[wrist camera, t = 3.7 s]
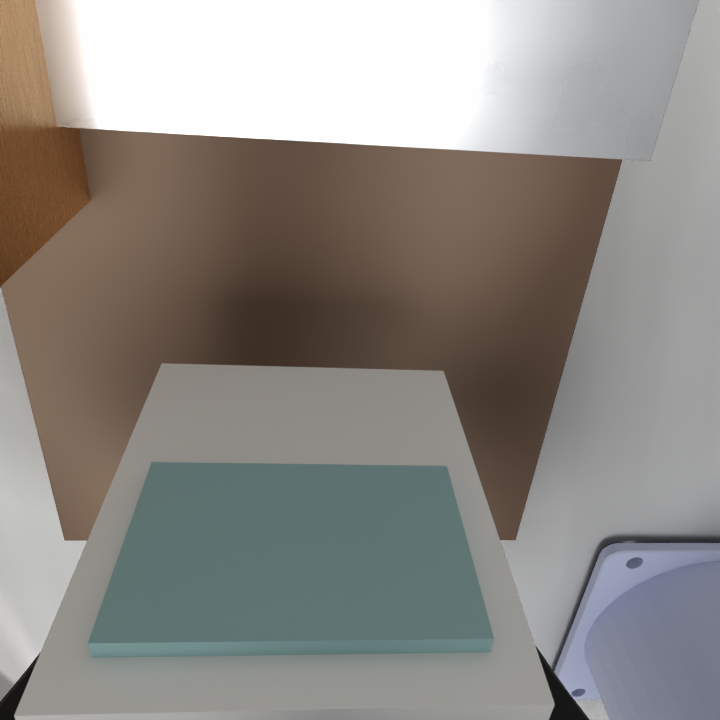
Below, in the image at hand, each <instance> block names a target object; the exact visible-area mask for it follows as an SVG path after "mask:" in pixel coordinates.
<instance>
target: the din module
mask: <svg viewBox="0 0 720 720" xmlns="http://www.w3.org/2000/svg"><path fill="white" fill-rule="evenodd" d="M554 706H555V703H554V700H553V697H552V694H551V691H550V688H549V685H548V682H547V679H546V676H545V673H544V670H543V667H542V664H541V661H540V658H539V655H538V652H537V649H536V646H535V643H534V640H533V637H532V634H531V631H530V628H529V625H528V622H527V619H526V616H525V613H524V610H523V607H522V604H521V601H520V598H519V595H518V592H517V589H516V586H515V583H514V580H513V577H512V574H511V571H510V568H509V565H508V562H507V559H506V556H505V553H504V550H503V547H502V544H501V541H500V538H499V535H498V533H497V530H496V527H495V524H494V521H493V518H492V515H491V512H490V509H489V506H488V503H487V500H486V497H485V494H484V491H483V488H482V485H481V482H480V479H479V476H478V473H477V470H476V467H475V464H474V461H473V458H472V455H471V452H470V449H469V446H468V443H467V440H466V437H465V434H464V431H463V428H462V425H461V422H460V419H459V416H458V413H457V410H456V407H455V404H454V401H453V398H452V395H451V392H450V389H449V386H448V383H447V380H446V377H445V374H444V371H432V370H395V369H357V368H320V367H282V366H245V365H207V364H170V363H162V364H161V366H160V368H159V371H158V373H157V376H156V378H155V380H154V383H153V385H152V388H151V390H150V392H149V395H148V397H147V399H146V402H145V404H144V407H143V409H142V411H141V414H140V416H139V419H138V421H137V423H136V426H135V428H134V431H133V433H132V435H131V438H130V440H129V442H128V445H127V447H126V450H125V452H124V454H123V457H122V459H121V462H120V464H119V466H118V469H117V471H116V473H115V476H114V478H113V481H112V483H111V485H110V488H109V490H108V493H107V495H106V497H105V500H104V502H103V505H102V507H101V509H100V512H99V514H98V516H97V519H96V521H95V524H94V526H93V528H92V531H91V533H90V536H89V538H88V540H87V543H86V545H85V547H84V550H83V552H82V555H81V557H80V559H79V562H78V564H77V567H76V569H75V571H74V574H73V576H72V579H71V581H70V583H69V586H68V588H67V590H66V593H65V595H64V598H63V600H62V602H61V605H60V607H59V610H58V612H57V614H56V617H55V619H54V621H53V624H52V626H51V629H50V631H49V633H48V636H47V638H46V641H45V643H44V645H43V648H42V650H41V653H40V655H39V657H38V660H37V662H36V664H35V667H34V669H33V672H32V674H31V676H30V679H29V681H28V684H27V686H26V688H25V691H24V693H23V695H22V698H21V700H20V703H19V705H18V707H17V710H16V712H15V715H14V717H15V720H549V718H550V716H551V713H552V711H553V708H554Z"/></svg>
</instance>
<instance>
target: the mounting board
mask: <svg viewBox="0 0 720 720" xmlns="http://www.w3.org/2000/svg"><path fill="white" fill-rule="evenodd" d="M79 130H80V136H81V143H82V149H83V155H84V162H85V168H86V174H87V181H88V187H89V193H90V200H91V201H90V202H89V203H88V204H87V205H86V206H84V207H83V208H82V209H81V210H80V211H79V212H78V213H77V214H76V215H75V216H74V217H73V218H72V219H71V220H70V221H69V222H68V223H67V224H66V225H65V226H64V227H63V228H61V229H60V230H59V231H58V232H57V233H56V234H55V235H54V236H53V237H52V238H51V239H50V240H49V241H48V242H47V243H46V244H45V245H44V246H43V247H42V248H41V249H39V250H38V251H37V252H36V253H35V254H34V255H33V256H32V257H31V258H30V259H29V260H28V261H27V262H26V263H25V264H24V265H23V266H22V267H21V268H20V269H19V270H18V271H16V272H15V273H14V274H13V275H12V276H11V277H10V278H9V279H8V280H7V281H6V282H5V283H4V284H3V285H2V286H1V289H2V293H3V297H4V300H5V304H6V308H7V312H8V316H9V320H10V324H11V328H12V332H13V336H14V340H15V344H16V348H17V352H18V356H19V360H20V364H21V368H22V372H23V376H24V380H25V384H26V388H27V392H28V396H29V400H30V404H31V408H32V412H33V416H34V420H35V424H36V428H37V432H38V436H39V440H40V444H41V448H42V452H43V456H44V460H45V464H46V468H47V472H48V476H49V480H50V484H51V488H52V492H53V496H54V500H55V504H56V508H57V512H58V516H59V520H60V524H61V528H62V532H63V536H64V540H88V538H89V536H90V533H91V531H92V528H93V526H94V524H95V521H96V519H97V516H98V514H99V512H100V509H101V507H102V505H103V502H104V500H105V497H106V495H107V493H108V490H109V488H110V485H111V483H112V481H113V478H114V476H115V473H116V471H117V469H118V466H119V464H120V462H121V459H122V457H123V454H124V452H125V450H126V447H127V445H128V442H129V440H130V438H131V435H132V433H133V431H134V428H135V426H136V423H137V421H138V419H139V416H140V414H141V411H142V409H143V407H144V404H145V402H146V399H147V397H148V395H149V392H150V390H151V388H152V385H153V383H154V380H155V378H156V376H157V373H158V371H159V368H160V366H161V364H162V363H170V364H207V365H245V366H282V367H320V368H357V369H395V370H432V371H444V374H445V377H446V380H447V383H448V386H449V389H450V392H451V395H452V398H453V401H454V404H455V407H456V410H457V413H458V416H459V419H460V422H461V425H462V428H463V431H464V434H465V437H466V440H467V443H468V446H469V449H470V452H471V455H472V458H473V461H474V464H475V467H476V470H477V473H478V476H479V479H480V482H481V485H482V488H483V491H484V494H485V497H486V500H487V503H488V506H489V509H490V512H491V515H492V518H493V521H494V524H495V527H496V530H497V533H498V535H499V538H500V540H516V536H517V533H518V529H519V525H520V522H521V518H522V515H523V511H524V508H525V504H526V500H527V497H528V493H529V490H530V486H531V483H532V479H533V476H534V472H535V468H536V465H537V461H538V458H539V454H540V451H541V447H542V444H543V440H544V436H545V433H546V429H547V426H548V422H549V419H550V415H551V412H552V408H553V404H554V401H555V397H556V394H557V390H558V387H559V383H560V379H561V376H562V372H563V369H564V365H565V362H566V358H567V355H568V351H569V347H570V344H571V340H572V337H573V333H574V330H575V326H576V323H577V319H578V315H579V312H580V308H581V305H582V301H583V298H584V294H585V291H586V287H587V283H588V280H589V276H590V273H591V269H592V266H593V262H594V258H595V255H596V251H597V248H598V244H599V241H600V237H601V234H602V230H603V226H604V223H605V219H606V216H607V212H608V209H609V205H610V202H611V198H612V194H613V191H614V187H615V184H616V180H617V177H618V173H619V170H620V166H621V162H622V159H606V158H589V157H572V156H555V155H537V154H520V153H503V152H485V151H468V150H451V149H434V148H416V147H399V146H382V145H365V144H347V143H330V142H313V141H295V140H278V139H261V138H244V137H226V136H209V135H192V134H174V133H157V132H140V131H123V130H105V129H88V128H79Z"/></svg>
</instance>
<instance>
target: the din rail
mask: <svg viewBox="0 0 720 720" xmlns="http://www.w3.org/2000/svg"><path fill="white" fill-rule="evenodd" d="M698 2H699V0H0V287H1V286H2V285H3V284H4V283H5V282H6V281H7V280H8V279H9V278H10V277H11V276H12V275H13V274H14V273H15V272H16V271H18V270H19V269H20V268H21V267H22V266H23V265H24V264H25V263H26V262H27V261H28V260H29V259H30V258H31V257H32V256H33V255H34V254H35V253H36V252H37V251H38V250H39V249H41V248H42V247H43V246H44V245H45V244H46V243H47V242H48V241H49V240H50V239H51V238H52V237H53V236H54V235H55V234H56V233H57V232H58V231H59V230H60V229H61V228H63V227H64V226H65V225H66V224H67V223H68V222H69V221H70V220H71V219H72V218H73V217H74V216H75V215H76V214H77V213H78V212H79V211H80V210H81V209H82V208H83V207H84V206H86V205H87V204H88V203H89V202H90V201H91V200H90V193H89V187H88V181H87V174H86V168H85V162H84V155H83V149H82V143H81V136H80V130H79V128H88V129H105V130H123V131H140V132H157V133H174V134H192V135H209V136H226V137H244V138H261V139H278V140H295V141H313V142H330V143H347V144H365V145H382V146H399V147H416V148H434V149H451V150H468V151H485V152H503V153H520V154H537V155H555V156H572V157H589V158H606V159H624V160H641V161H650V160H651V157H652V153H653V150H654V147H655V143H656V140H657V137H658V134H659V130H660V127H661V124H662V120H663V117H664V114H665V110H666V107H667V104H668V101H669V97H670V94H671V91H672V87H673V84H674V81H675V78H676V74H677V71H678V68H679V64H680V61H681V58H682V55H683V51H684V48H685V45H686V41H687V38H688V35H689V32H690V28H691V25H692V22H693V18H694V15H695V12H696V9H697V5H698Z"/></svg>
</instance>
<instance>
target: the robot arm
mask: <svg viewBox="0 0 720 720" xmlns="http://www.w3.org/2000/svg"><path fill="white" fill-rule="evenodd" d="M535 646H536V645H535ZM536 649H537V652H538V655H539V658H540V661H541V664H542V667H543V670H544V673H545V676H546V679H547V682H548V685H549V688H550V691H551V694H552V697H553V700H554V703H555V706H554V708H553V711H552V713H551V716H550V718H549V720H589V718H588V717H587V716H586V715H585V713H584V712H583V711H582V709H581V708H580V707H579V705H578V704H577V703H576V701H575V700H582V699H602V702H603V704H604V707H605V709H606V712H607V714H608V717H609V719H610V720H720V543H615V544H611V545H608V546H607V547H605V548H604V549H603V550H602V551H601V553H600V554H599V557H598V560H597V562H596V565H595V567H594V570H593V572H592V575H591V578H590V580H589V583H588V585H587V588H586V591H585V593H584V596H583V598H582V601H581V604H580V606H579V609H578V611H577V614H576V616H575V619H574V622H573V624H572V627H571V629H570V632H569V635H568V637H567V640H566V642H565V645H564V647H563V650H562V653H561V655H560V658H559V660H558V663H557V666H556V668H555V671H553V670H552V669H551V667H550V666H549V664H548V663H547V661H546V660H545V658H544V657H543V656H542V654H541V653H540V651H539V650H538V648H537V647H536ZM40 653H41V652H40ZM40 653H39V655H40ZM39 655H38V656H37V657H36V659H35V660H34V661H33V663H32V664H31V665H30V666H29V668H28V669H27V670H26V671H25V673H24V674H23V675H22V676H21V678H20V679H19V680H18V681H17V682H16V684H15V685H14V686H13V687H12V688H11V690H10V691H9V692H8V693H7V694H6V695H5V697H4V698H3V699H2V700H1V701H0V720H15V717H14V715H15V712H16V710H17V707H18V705H19V703H20V700H21V698H22V695H23V693H24V691H25V688H26V686H27V684H28V681H29V679H30V676H31V674H32V672H33V669H34V667H35V664H36V662H37V660H38V657H39Z"/></svg>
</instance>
